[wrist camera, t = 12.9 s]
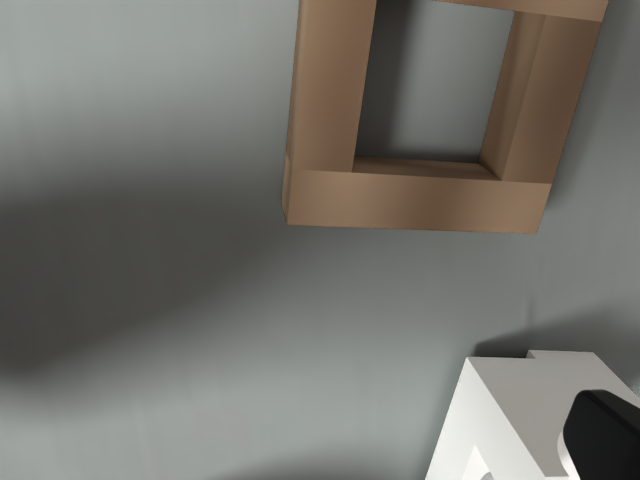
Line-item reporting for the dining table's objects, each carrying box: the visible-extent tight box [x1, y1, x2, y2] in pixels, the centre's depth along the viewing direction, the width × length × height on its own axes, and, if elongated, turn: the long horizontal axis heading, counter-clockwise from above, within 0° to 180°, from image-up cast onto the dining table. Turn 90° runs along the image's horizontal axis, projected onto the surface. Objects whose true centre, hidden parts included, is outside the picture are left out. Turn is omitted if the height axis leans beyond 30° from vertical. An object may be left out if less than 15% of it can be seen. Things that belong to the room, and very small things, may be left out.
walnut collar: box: [281, 0, 609, 234], centre depth 19 cm, size 10×10×2 cm
